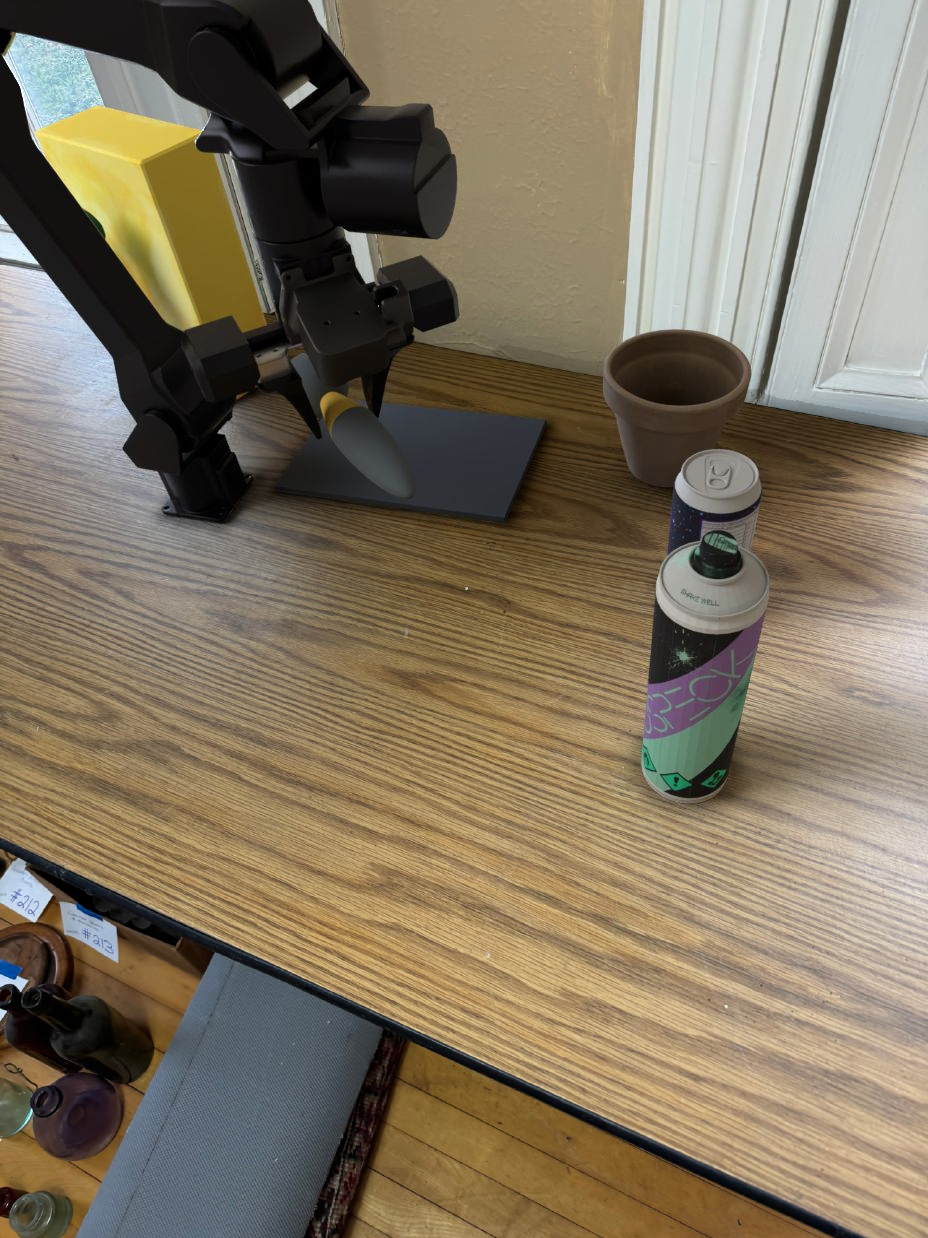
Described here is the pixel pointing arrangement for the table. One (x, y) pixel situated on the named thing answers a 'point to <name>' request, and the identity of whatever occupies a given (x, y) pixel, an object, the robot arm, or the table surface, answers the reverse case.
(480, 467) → the mat
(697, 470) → the beverage can
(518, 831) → the table surface
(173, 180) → the mottled yellow carton
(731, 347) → the flower pot
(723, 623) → the spray can
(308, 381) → the paintbrush
